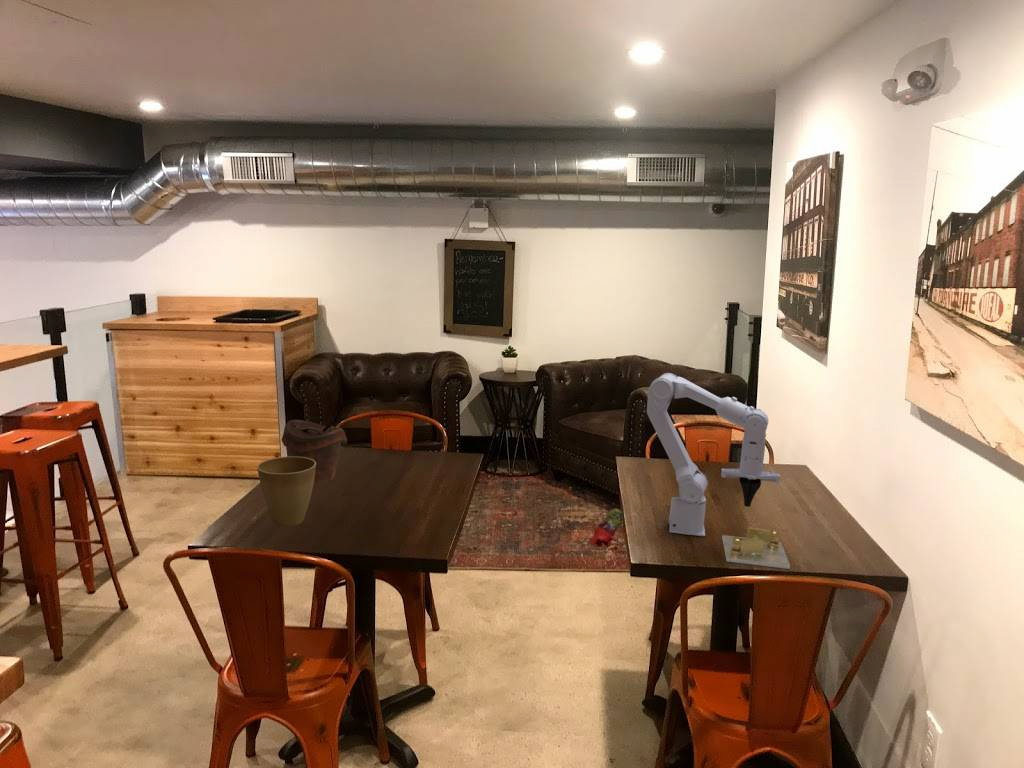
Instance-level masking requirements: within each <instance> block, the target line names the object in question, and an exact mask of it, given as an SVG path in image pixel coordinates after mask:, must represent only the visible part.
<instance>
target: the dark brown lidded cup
mask: <svg viewBox="0 0 1024 768" xmlns="http://www.w3.org/2000/svg"><path fill="white" fill-rule="evenodd" d="M281 443H282V445H283V446H284V447H285V449H286V453H287V457H306V458H310V459H312V460H314V461H315V462H316V469H315V477H314V483H313V484H317V483H325V482H329V481H331V480H333V479H334V478H335V476H336V471H337V465H338V461H339V456H340V452H341V446H342V444H343V445H344V446H345V445H346V444H347V443H348V439H347V436H346V432H345V430H344V429H343V428H341V427H335V426H333V425H331V424H329V425H323V424H321V423H316V422H313V421H306V420H303V419H291V420H289V421H287V422H286V424H285V425H284V429H283V433H282V437H281Z"/></svg>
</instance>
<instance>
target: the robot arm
mask: <svg viewBox="0 0 1024 768" xmlns="http://www.w3.org/2000/svg"><path fill="white" fill-rule="evenodd" d="M673 398H674V399H681V398H682V399H684V398H688V399H691V400H693V401H695V402H697V403H700V404H702V405H704V406H707V407H710V408H711V409H713V410H715V412H716V414H717V416H718V417H720V418H722V419H723V420H725V421H728V422H729V423H732V424H734V425H735V426H738V427H740V428H741V427H742V428H743V431H744V433H743V437H742V442H741V443H742V444H741V453H740V463H739V468H721V474H720V475H721V478H731V479H738V481H739V484H740V486H741V489H742V495H743V504H744V507H749V508H751V504H752V501H753V499H754V497H755V495H756V493H757V492H758V491H759V489H760V488H761V485H762V481H764V482H772V483H775V484H780V479H781V475H780V474H779V473H774V472H768V471H764V470H763V468H764V460H765V459H764V458H765V451H766V437H767V433H766V432H767V428H768V425H769V417H768V415H767V413H766V412H765V411H763V410H762V409H760V408H755V407H754V406H752V405H750V406H748V405H746V404H744V403H742V402H740V401H738V398H737V397H735V396H732V397H729V396H726V397H720V396H717V395H715V394H714V393H711V392H710V391H708V390H706V389H704V388H702V387H700V386H698V385H697V384H695V383H694V382H691V381H689V380H688V379H686V378H684V377H681V376H677V375H676V374H674V373H671V372H665V373H662V375H660V376H659V377H657V378H655V379H654V380H653V381H652V382H651V384H650V386H649V388H648V390H647V401H646V402H647V405H646V414H647V416H648V418H649V421H650V423H651V424H652V426H653V429H654V430H655V433H656V434H657V437H658V439H659V441H660V442H661V444H662V447H663V449H664V450H665V453H666V454H667V456H668V459H669V461H670V463H671V465H672V467H673V469H674V471H675V478H676V479H675V480H676V482H677V484H678V493H679V495H678V496H676V497H674V496H672V497H671V498H670V499H671V502H670V510H669V511H670V512H669V516H668V520H667V521H668V524H669V525H668V527H669V529H668V530H669V531H668V532H669V533H673V534H681V535H688V536H698V537H705V536H706V530H705V515H706V507H707V506H706V505H707V504H706V503H707V498H706V496H705V493H704V492H705V491H707V489H708V485H709V481H708V478H707V477H706V475H705V474H704V473H702V472H701V471H700V470H699V468H698V466H697V465H696V463H694V462H693V461H692V459H691V457H690V455H689V453H688V451H687V449H686V447H685V445H684V443H683V441H682V439H681V437H680V434H679V433H678V431H677V428H676V427H675V424H674V423H673V421H672V419H671V416H670V414H669V413H668V408H669V406H670V404H671V401H672V399H673Z"/></svg>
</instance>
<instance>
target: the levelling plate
mask: <svg viewBox="0 0 1024 768" xmlns="http://www.w3.org/2000/svg"><path fill="white" fill-rule="evenodd" d="M734 537H736V536H733V535H727V534H726V535H725V534H724V535H722V537H721V538H722V544H723V549H724V550H723V551H724V555H725V561H726V562H727V563H735V564H743V565H744V564H745V565H753V566H761V567H767V568H778V569H785V570H790V567H791V564H790V561H789V558H788V556H787V554H786V551H785V548H784V546H783V543H782V541H779V540H778V543H779V547H778V548H772V547H769V546H768V545H767V544H768V543H764V552H763V553H756V552H742V555H740V556H736V555H732V554H731V553H730V551H731V548H732V544H733V538H734ZM738 537H739V538H745V537H744V536H743V537H742V536H738Z"/></svg>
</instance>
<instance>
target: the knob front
mask: <svg viewBox="0 0 1024 768" xmlns="http://www.w3.org/2000/svg"><path fill="white" fill-rule="evenodd" d="M739 537H740V536H735V537H734V538H733V544H732V548H731V551H730V553H731V554H732V555H736V556H740V555H742V552H756V553H763V552H764V543H765V542H764V540H763V539H751V538H747V537H744V538H739Z"/></svg>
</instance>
